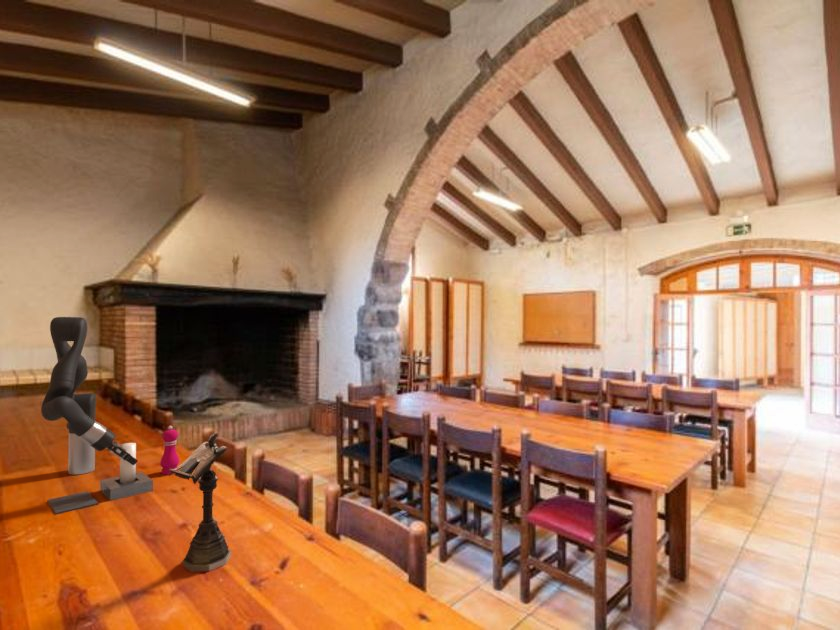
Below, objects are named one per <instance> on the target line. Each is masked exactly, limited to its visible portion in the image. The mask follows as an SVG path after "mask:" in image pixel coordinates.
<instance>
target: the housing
mask: <svg viewBox="0 0 840 630" xmlns="http://www.w3.org/2000/svg"><path fill="white" fill-rule="evenodd" d="M153 491H154V479H152V478H150V476H148V475H147V474H145V473H144V472H142V471H138V472H136V480H135V481H134V482H129V483H120V475H119V476H115V477H111V478H110V477H108V478H104V479H100V492H102V494H103V495H104V496H105V497H106V498H107V499H108V500H109V501H115V500H119V499H124V498H127V497H132V496H137V495H141V494H145V493H149V492H153Z"/></svg>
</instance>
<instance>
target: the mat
mask: <svg viewBox="0 0 840 630" xmlns="http://www.w3.org/2000/svg"><path fill="white" fill-rule="evenodd" d="M47 503H48V504H49V507H50V508H51V509H52V510H53V512H54V514H55V515H59V514H63V513H64V514H65V513H68V512H72V511H76V510H77V511H78V510H81V509H85V508H90V507H93V506H97V505H98V506H99V502H98V501H97V500H96V499H95V498H94V497H93V496H92V494H91V493H90V492H89V491H88V490H87V491H83V492H78V493H72V494H69V495H65V496H58V497H54V498H49V499H47Z"/></svg>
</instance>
